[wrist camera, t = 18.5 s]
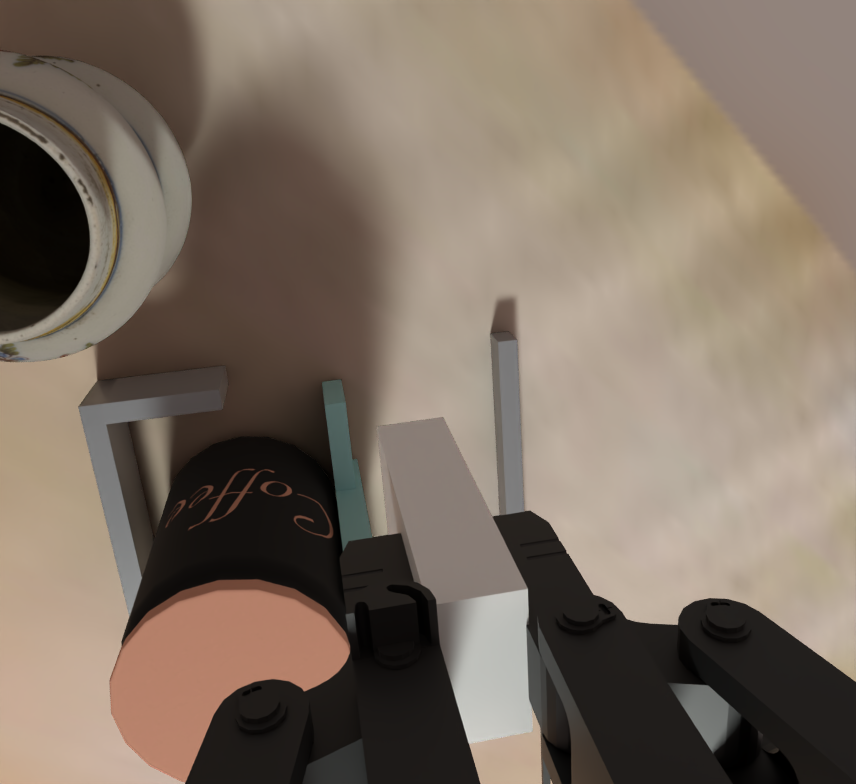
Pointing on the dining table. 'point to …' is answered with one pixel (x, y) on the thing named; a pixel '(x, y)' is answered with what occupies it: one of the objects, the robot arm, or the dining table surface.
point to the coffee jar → (230, 596)
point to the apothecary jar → (81, 205)
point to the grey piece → (206, 392)
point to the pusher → (345, 467)
